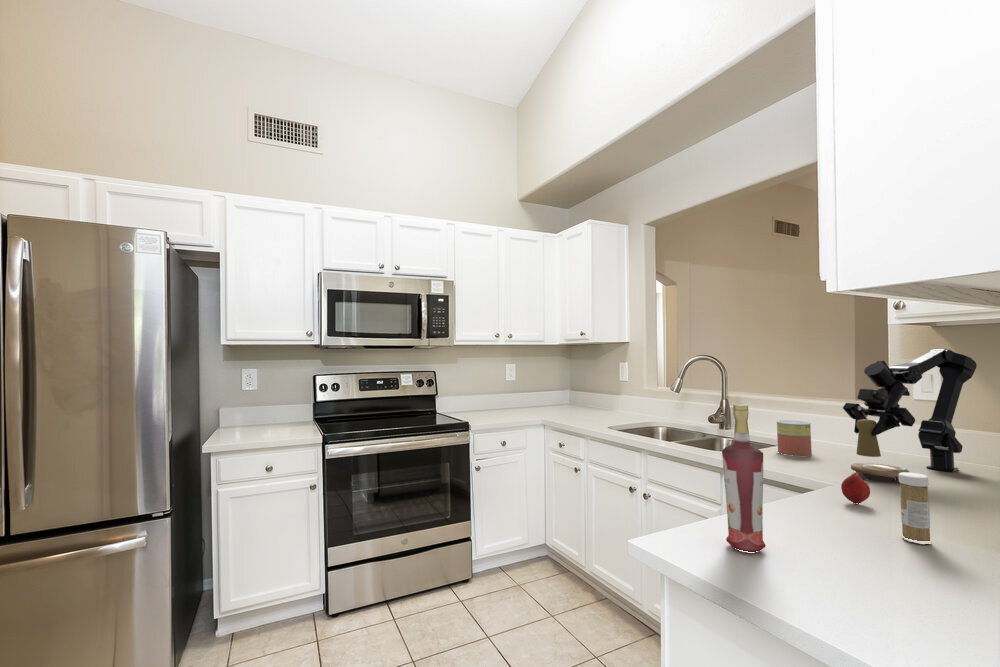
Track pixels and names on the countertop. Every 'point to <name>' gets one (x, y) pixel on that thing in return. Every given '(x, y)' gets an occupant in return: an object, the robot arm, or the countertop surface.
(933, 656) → the countertop surface
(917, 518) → the sprinkles bottle
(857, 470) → the brown shallow bowl
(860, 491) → the onion
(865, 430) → the cork
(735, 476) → the liquor
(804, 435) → the canned food
